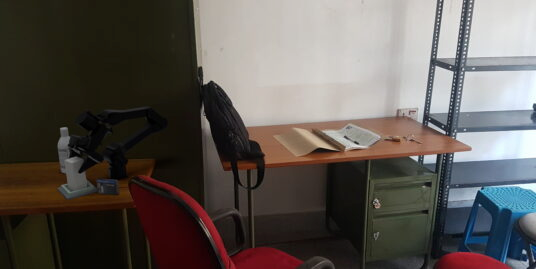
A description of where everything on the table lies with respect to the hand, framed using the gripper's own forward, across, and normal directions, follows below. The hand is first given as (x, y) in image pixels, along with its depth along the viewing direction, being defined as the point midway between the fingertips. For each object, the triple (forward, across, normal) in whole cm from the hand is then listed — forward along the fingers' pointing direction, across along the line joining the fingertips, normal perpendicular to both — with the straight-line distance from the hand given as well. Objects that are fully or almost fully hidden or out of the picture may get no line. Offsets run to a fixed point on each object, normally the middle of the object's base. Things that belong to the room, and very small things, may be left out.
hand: (73, 170), depth 170 cm
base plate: (+6, 0, +7) cm, 9 cm away
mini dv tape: (+2, +12, +12) cm, 17 cm away
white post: (+5, 0, +7) cm, 8 cm away
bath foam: (0, -22, +13) cm, 25 cm away
